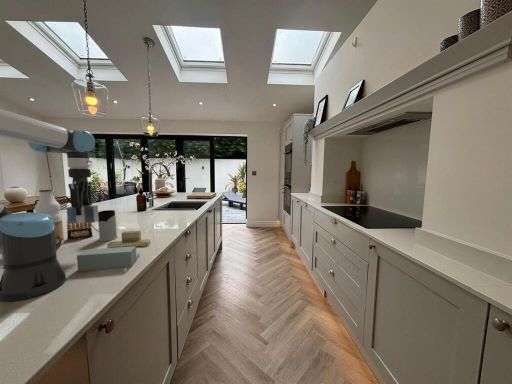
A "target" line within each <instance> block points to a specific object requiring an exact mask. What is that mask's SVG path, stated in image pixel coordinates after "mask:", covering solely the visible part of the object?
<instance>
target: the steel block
mask: <svg viewBox="0 0 512 384" xmlns="http://www.w3.org/2000/svg"><path fill="white" fill-rule="evenodd" d="M83 207H84V219H85V222H84V223H87V224H88V223H92V224H93V223H96V222H97V223H98V221H99V218H98V212H99V206H98V205H89V206H83V205H82V208H83ZM66 216H67V218H66V221H67V220H68V224H74V223H75V224H76V223H77V221H76V209H75V208H72V206H71V205H70V206H68V207H66ZM84 223H83V224H84Z"/></svg>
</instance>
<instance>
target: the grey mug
mask: <svg viewBox="0 0 512 384" xmlns="http://www.w3.org/2000/svg"><path fill="white" fill-rule="evenodd" d="M116 217H117V216H116V210H114V209H110V210H109V209H108V210H99V211H98V218H99V221H97V223H98V229H97V228H95V226H94V225H93V223H90V224H91V227H92V229H94V230H95V231H96V232H98V235H99V238H98V241H99V242H110V241H113V240H114V241H115V240H116V238H117V239H118V238H119V236H118V233H117V231H118V230H117V220H116V219H117V218H116ZM109 240H110V241H109Z"/></svg>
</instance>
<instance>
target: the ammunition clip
mask: <svg viewBox="0 0 512 384" xmlns="http://www.w3.org/2000/svg"><path fill="white" fill-rule="evenodd" d="M66 231H67V232H66V233H67V241H72V240H79V239H78V238H80V239H86V238H92V237H93V236H94V235H93V227H92V226H91V224H90V223H74V224H68V220H67V219H66ZM71 239H72V240H71Z"/></svg>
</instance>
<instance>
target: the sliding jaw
mask: <svg viewBox="0 0 512 384" xmlns="http://www.w3.org/2000/svg"><path fill="white" fill-rule="evenodd" d="M150 244H151V239H147V238H146V239H142V231H141V230H129V231H122V232H121V240H118V241H115V240H114V241H109V242H108V243H107V244H106V247H107V248H119V247H133V246H136V248H138V247H148V246H149V245H150Z"/></svg>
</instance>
